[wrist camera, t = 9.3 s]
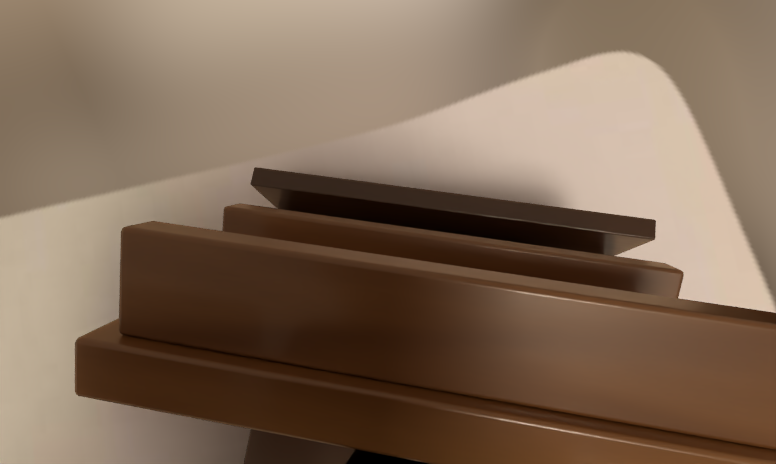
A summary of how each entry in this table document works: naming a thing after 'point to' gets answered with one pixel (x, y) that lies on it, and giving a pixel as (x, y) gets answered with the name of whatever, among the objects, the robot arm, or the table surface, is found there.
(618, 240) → the stand
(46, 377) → the table surface
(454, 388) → the wooden letter rack
